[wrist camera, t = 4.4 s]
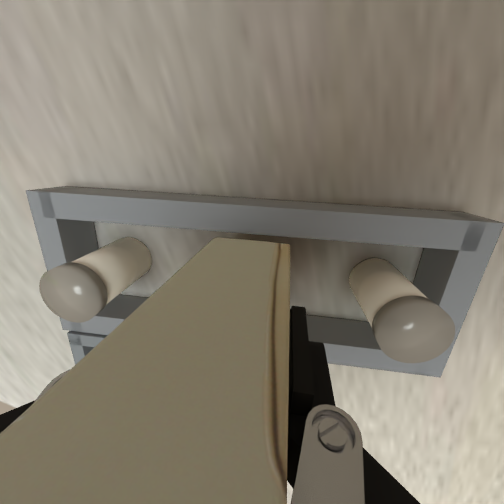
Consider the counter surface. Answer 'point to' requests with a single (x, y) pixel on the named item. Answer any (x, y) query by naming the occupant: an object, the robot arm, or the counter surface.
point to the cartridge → (400, 313)
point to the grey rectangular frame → (287, 225)
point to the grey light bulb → (94, 279)
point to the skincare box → (171, 396)
